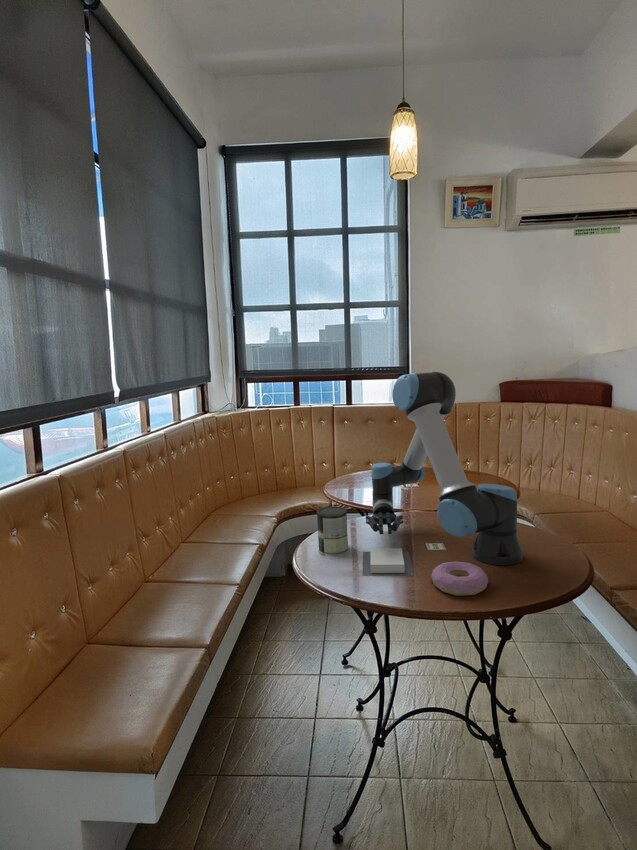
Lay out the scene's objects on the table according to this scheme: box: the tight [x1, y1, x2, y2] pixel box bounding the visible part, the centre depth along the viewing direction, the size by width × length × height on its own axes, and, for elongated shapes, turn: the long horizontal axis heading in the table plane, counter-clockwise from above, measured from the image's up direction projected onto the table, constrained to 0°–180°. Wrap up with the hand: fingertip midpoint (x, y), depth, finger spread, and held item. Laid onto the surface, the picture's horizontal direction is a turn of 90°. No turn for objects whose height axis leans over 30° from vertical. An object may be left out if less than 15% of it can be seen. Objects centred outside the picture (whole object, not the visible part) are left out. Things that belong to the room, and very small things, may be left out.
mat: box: [361, 550, 415, 577], centre depth 158 cm, size 15×19×1 cm
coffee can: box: [316, 506, 349, 556], centre depth 172 cm, size 10×10×14 cm
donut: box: [430, 561, 489, 597], centre depth 142 cm, size 16×15×5 cm
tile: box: [369, 547, 405, 573], centre depth 157 cm, size 10×3×13 cm
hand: (385, 535), depth 156 cm, fingers closed
